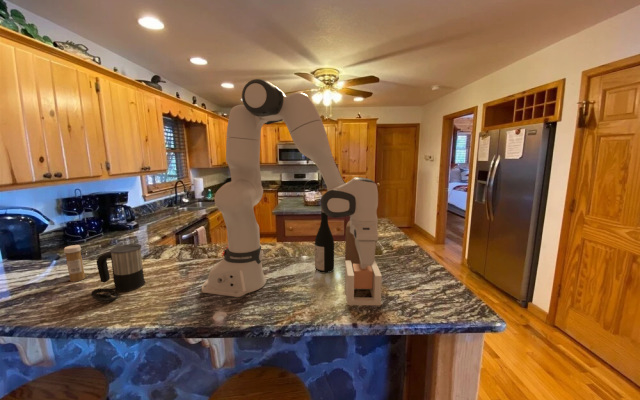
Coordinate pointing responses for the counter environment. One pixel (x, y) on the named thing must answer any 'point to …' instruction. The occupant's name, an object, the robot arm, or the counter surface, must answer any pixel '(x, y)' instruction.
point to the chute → (350, 288)
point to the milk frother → (120, 271)
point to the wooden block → (350, 247)
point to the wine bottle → (324, 247)
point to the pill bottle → (74, 262)
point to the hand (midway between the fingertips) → (362, 267)
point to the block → (362, 277)
